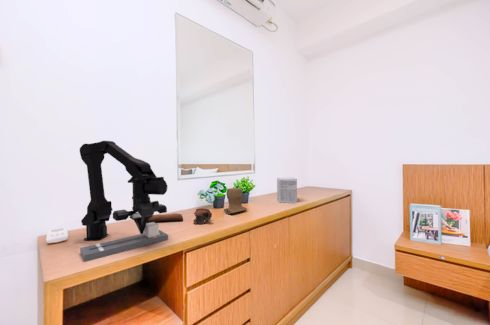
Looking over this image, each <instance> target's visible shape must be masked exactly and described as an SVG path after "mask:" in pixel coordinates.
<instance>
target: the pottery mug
mask: <svg viewBox="0 0 490 325" xmlns="http://www.w3.org/2000/svg"><path fill="white" fill-rule="evenodd" d="M193 215H194V217H195V218H194V219H193V224H194V225H196V224H198V225H204V224H205V223H208V222H209V221H210V220H211V219H212V217H213V213H212V212H211V211H210V209H208V208H197V209H195V212H194V213H193ZM209 223H210V222H209Z"/></svg>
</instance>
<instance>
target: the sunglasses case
mask: <svg viewBox="0 0 490 325" xmlns="http://www.w3.org/2000/svg"><path fill="white" fill-rule="evenodd" d="M169 221H170V222H173V221H175V222H176V221H182V222H183V221H184V217H183V214H181V213H169V214H168V213H166V214H161V213H158V214H154V215H153V217H150V218H149V219H148V221H147V223H152V222H155V223H158V222H169ZM147 223H146V224H147Z"/></svg>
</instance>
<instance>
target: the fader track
mask: <svg viewBox="0 0 490 325" xmlns="http://www.w3.org/2000/svg"><path fill="white" fill-rule="evenodd" d="M159 233H160V235H158V236H154V237H150V238H148V237H147V236H145V235H144V234H140V233H139V234H135V235H129V236H127V237H126V236H125V237H122V238H121V237H120V238H117V239H113V240H108V241H105V242H100V243H99V242H98V243H95V244H91V245H87V246H83V247H79V249H80V256H81V257H82V260H83V262H87V261H88V262H89V261H93V260H95V259H100V258H104V257H107V256H110V255H114V254H119V253H123V252H127V251H130V250H134V249H137V248H142V247H146V246H149V245H152V244H153V245H154V244H157V243H160V242H163V241H168V240H169V234H168V233H166V232H165V231H162V230H160V229H159Z"/></svg>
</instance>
